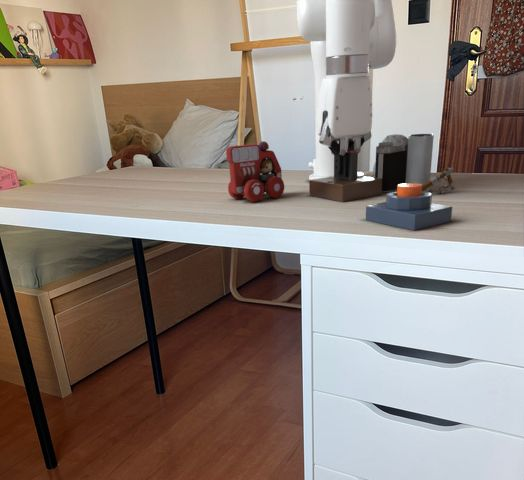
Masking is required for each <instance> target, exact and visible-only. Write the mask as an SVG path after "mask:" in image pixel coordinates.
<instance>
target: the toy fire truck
mask: <svg viewBox="0 0 524 480" xmlns="http://www.w3.org/2000/svg"><path fill="white" fill-rule="evenodd" d="M269 149H270V146H269V144H268V142H267V141H261V142H259V143H258V144H256V143H255V144H254V143H251V144H240V145H232V146H231V145H230V146H228V147H227V148H226V150H225V154H226V155H225V156H226V161H227V162H228V167H229V178H230V181H229V183H228V185H227V191H228V194H229V196H230V197H231V198H233V199H235V200H242V199H243V198H245V199H247V201H249V202H253V203H256V202H259V201H260V200H261V199H262V198H263V196H264V194H265V193H266V195H267V196H268V197H269V198H273V199H277V198H278V199H279V198H280V197H281V196H282V195H283V194H284V192H285V182H284V180H283V178H282V167H281V164H280V162H279V161H278V158H277V156H276V154H275V152H274V150H269Z"/></svg>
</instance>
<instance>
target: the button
mask: <svg viewBox="0 0 524 480" xmlns="http://www.w3.org/2000/svg"><path fill="white" fill-rule="evenodd" d="M396 191H397V196H402V197H414V196H421V193H422V184H418V183H403V184H399V185H397V190H396Z"/></svg>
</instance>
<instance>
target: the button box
mask: <svg viewBox="0 0 524 480" xmlns="http://www.w3.org/2000/svg"><path fill="white" fill-rule="evenodd" d="M432 198H433V193H431V192H429V191H428V192H425V191H422V193H421V196H414V197H402V196H397V190H394V191H389V192H387V193H386V195H385V201H383V202H378V203H373V204H369V205H366V206H365V221H369V222H373V223H378V224H382V225H387V226H392V227H396V228H400V229H405V230H411V231H418V230H421V229H426V228H430V227H433V226H437V225H443V224H446V223H450V222H452V215H453V213H452V212H453V206H450V205H445V204H438V203H433V202H432V200H433V199H432Z"/></svg>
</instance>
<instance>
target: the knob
mask: <svg viewBox="0 0 524 480" xmlns="http://www.w3.org/2000/svg"><path fill="white" fill-rule="evenodd" d="M345 155H347V156H348V170H347V177H344V178H343V177H336V176H334V178H336V179H343V180H350V181H352V180H357V165H358V166H359V153H358V152H357V151H355V150H352V151H345Z"/></svg>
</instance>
